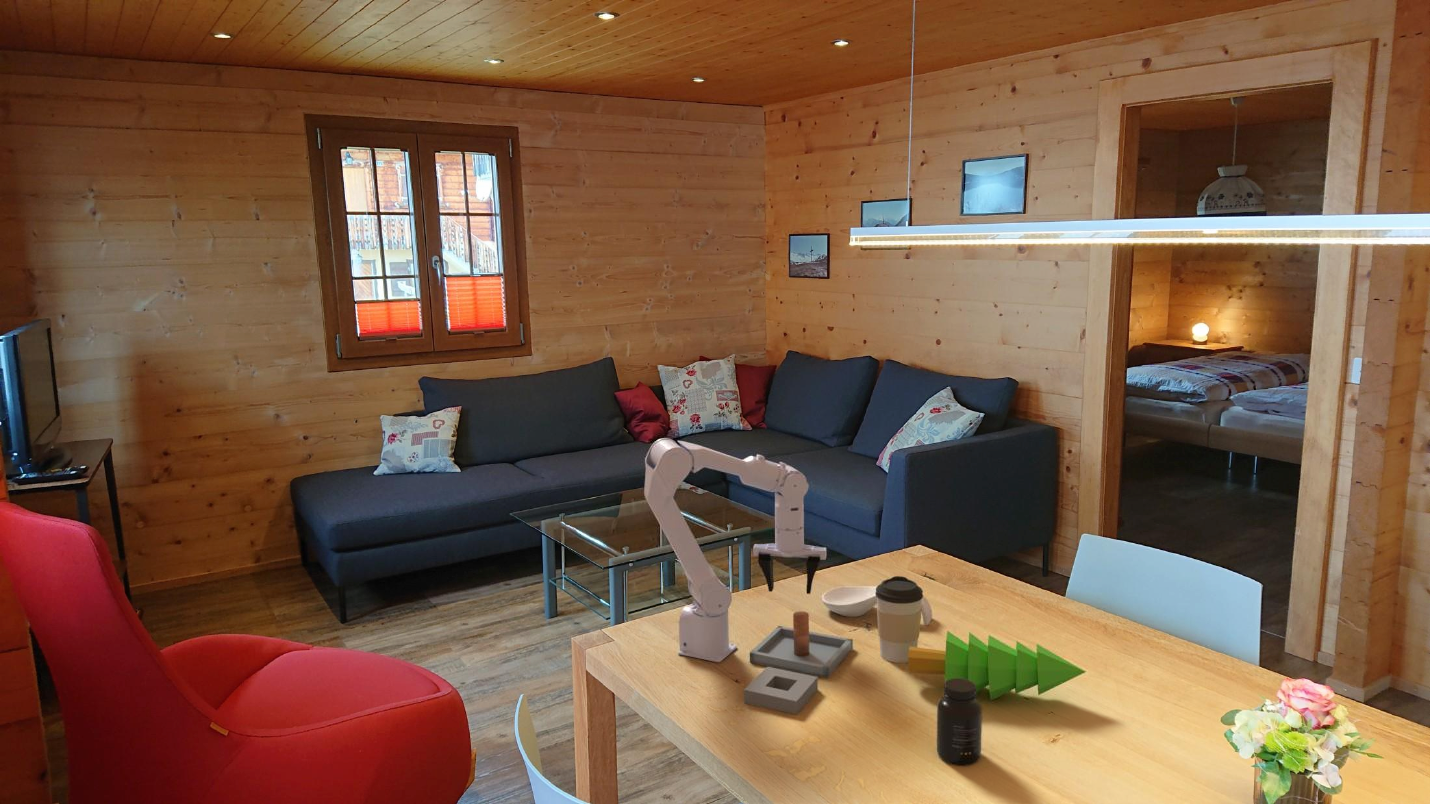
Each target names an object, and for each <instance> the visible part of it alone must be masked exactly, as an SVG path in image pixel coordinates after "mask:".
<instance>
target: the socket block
mask: <svg viewBox="0 0 1430 804" xmlns="http://www.w3.org/2000/svg"><path fill="white" fill-rule="evenodd" d="M818 680H819V676H814V675H809V674H804V673H799V672H794V671H790V670H785V669H780V668H775V667H770V666H766V667H765V668H764V669H763V670H762V671H761V672H760V673H759V674H758V675H757V676H756V677H755V678H754V679H753V680H752V681H751V682H750V683H749V684H747V686H746V687H745V688H744V689H743V702H744V704H748V705H753V706H757V707H760V708H764V709H765V708H766V709H769V710H774V711H779V712H782V713H788V714H792V715H795V716H796V715H798V713H800V711H802V710H803V708H804V707H805V705H806V704H807V703H808V702H809V701H810V700H811V698H812V697H813V696H814V695H815V694H816V693H817V691H818V690H819V687H818V686H819V681H818Z"/></svg>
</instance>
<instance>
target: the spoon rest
mask: <svg viewBox="0 0 1430 804" xmlns="http://www.w3.org/2000/svg"><path fill="white" fill-rule="evenodd" d="M877 586H878V585H875V586H874V585H870V586H868V585H867V586H866V585H863V586H862V585H846V586H839V587H838V586H837V587H833V588H831V589H829V590H827V591H826V592H824V593H823V594H822V595H821V602H822V603H823V605H825V607H827V609H829V610H830V611H831V612H833V613H835V614H837V615H838V614H839V615H840V616H843V617H850V618H852V617H854V618H858V617H861V616H863V615H864V614H866V613H867V612H869V611H870V610H871V609H872V608H873V607H875V605H876V606H877V596H876V595H875V593H876V587H877ZM921 607H922V611H921V617H922V621H923V625H924V626H929V625H930V623H931V621H932V618H933V611H932V607H931V604H930V602H929V601H928V599H927V598H926V597H925V596H924V595H923V598H922V601H921Z"/></svg>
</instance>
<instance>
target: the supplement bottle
mask: <svg viewBox="0 0 1430 804" xmlns="http://www.w3.org/2000/svg"><path fill="white" fill-rule="evenodd" d="M936 705H937V709H936V753H937V754H938V757H939V758H940V759H941V760H942V761H944V762H945V763H948V764H951V765H955V766H959V767H960V766H962V767H964V766H965V767H966V766H970V765H973V764H975V763H977V762H978V761H979V760H980V758H981V757H982V756H981V755H982V729H983V728H982V727H983V726H982V725H983V708H982V705H981V703H980V701H979V700H978V699H977V692H976V686H975V684H974V683H973V682H971V681H969V680H966V679H961V678H953V679H949V680H947V681H946V682H945V681H944V684H943V696H941V697H940V698H939V700H938V702H937V704H936Z"/></svg>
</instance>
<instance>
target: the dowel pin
mask: <svg viewBox="0 0 1430 804" xmlns="http://www.w3.org/2000/svg"><path fill="white" fill-rule="evenodd" d="M809 616H810V615H809V613H808V612H807V611H800V610H799V611H795V612H794V613H793V615H792V619H793V620H792V622H793V626H792V627H793V629H794V654H795V655H797V656H807V655H809V631H810V626H809V625H810V623H809V622H810V617H809Z"/></svg>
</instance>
